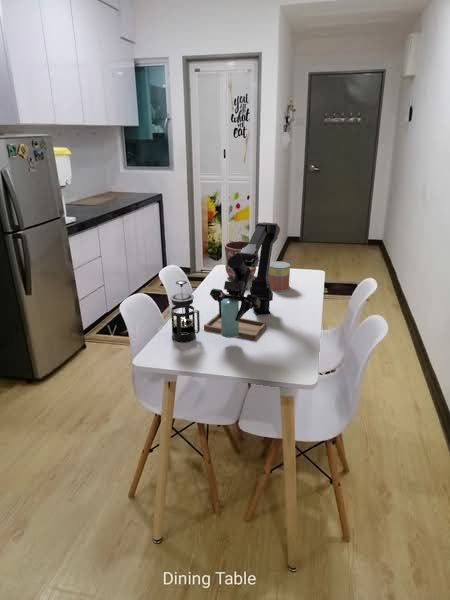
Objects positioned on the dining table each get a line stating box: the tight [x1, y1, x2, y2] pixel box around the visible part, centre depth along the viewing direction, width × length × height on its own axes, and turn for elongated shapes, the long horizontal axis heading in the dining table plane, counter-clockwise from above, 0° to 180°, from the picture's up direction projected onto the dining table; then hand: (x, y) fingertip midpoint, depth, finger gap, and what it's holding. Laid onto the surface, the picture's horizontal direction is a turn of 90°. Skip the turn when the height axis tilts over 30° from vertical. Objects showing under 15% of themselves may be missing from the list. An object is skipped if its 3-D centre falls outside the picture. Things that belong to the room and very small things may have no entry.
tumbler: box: [220, 298, 240, 339], centre depth 160 cm, size 7×7×13 cm
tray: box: [203, 313, 268, 341], centre depth 176 cm, size 13×22×2 cm, turn 64°
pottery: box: [224, 240, 257, 280], centre depth 233 cm, size 18×18×18 cm
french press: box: [169, 280, 201, 344], centre depth 165 cm, size 12×9×23 cm
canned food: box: [268, 260, 291, 292], centre depth 219 cm, size 11×11×12 cm
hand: (228, 319), depth 159 cm, fingers closed on tumbler, 6 cm apart
